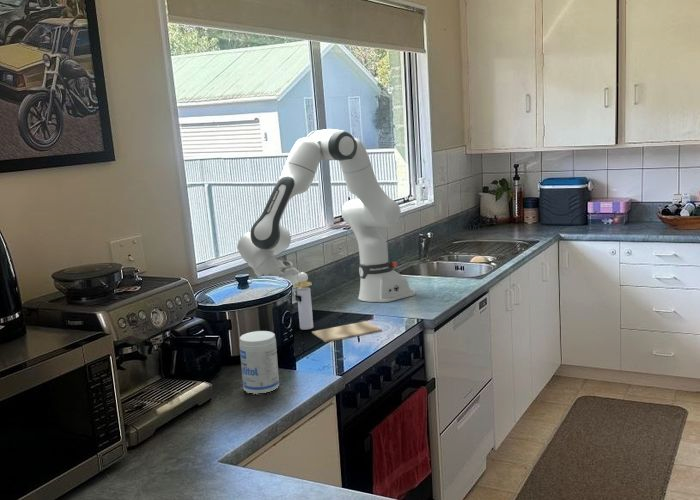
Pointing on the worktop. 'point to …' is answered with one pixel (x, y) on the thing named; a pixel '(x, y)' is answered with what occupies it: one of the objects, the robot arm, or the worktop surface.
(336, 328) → the mat
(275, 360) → the supplement tub
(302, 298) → the perfume bottle
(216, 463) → the worktop surface
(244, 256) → the robot arm
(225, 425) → the worktop surface
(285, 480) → the worktop surface
